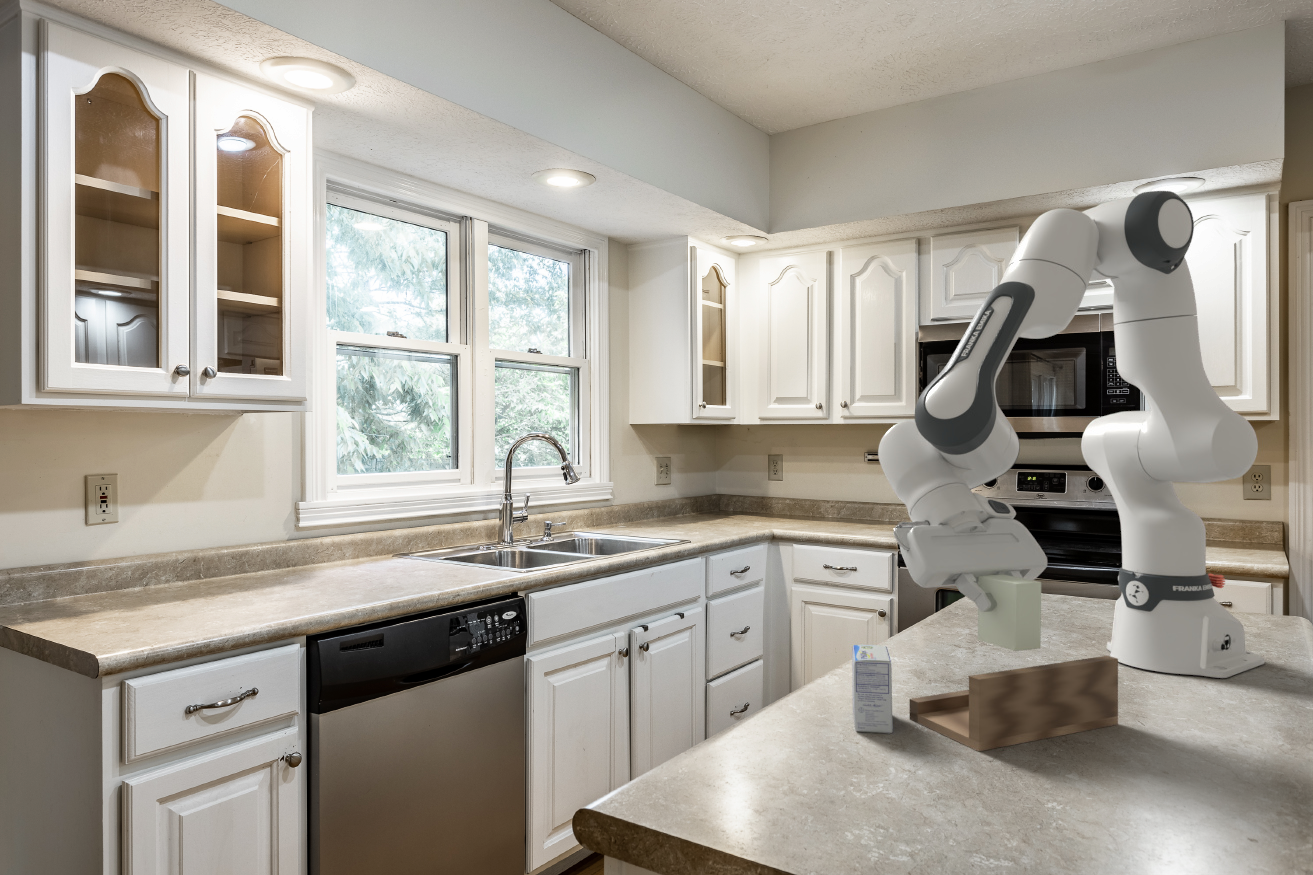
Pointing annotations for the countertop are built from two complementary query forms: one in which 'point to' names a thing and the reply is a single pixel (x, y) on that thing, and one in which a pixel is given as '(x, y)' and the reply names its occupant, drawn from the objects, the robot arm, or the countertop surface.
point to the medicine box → (872, 688)
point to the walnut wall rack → (1025, 704)
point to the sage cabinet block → (1011, 613)
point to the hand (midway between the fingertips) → (1006, 607)
